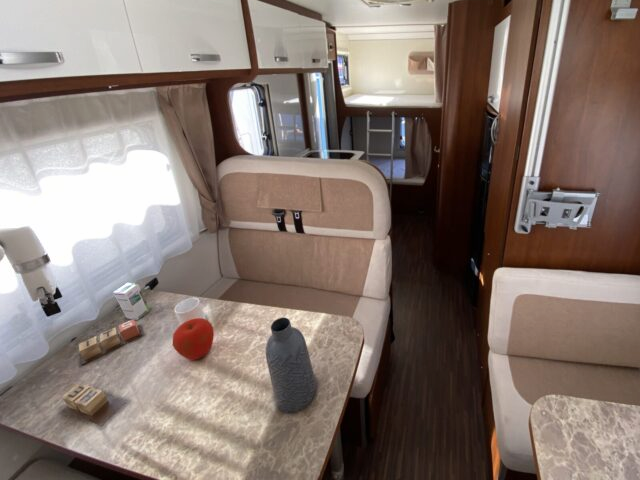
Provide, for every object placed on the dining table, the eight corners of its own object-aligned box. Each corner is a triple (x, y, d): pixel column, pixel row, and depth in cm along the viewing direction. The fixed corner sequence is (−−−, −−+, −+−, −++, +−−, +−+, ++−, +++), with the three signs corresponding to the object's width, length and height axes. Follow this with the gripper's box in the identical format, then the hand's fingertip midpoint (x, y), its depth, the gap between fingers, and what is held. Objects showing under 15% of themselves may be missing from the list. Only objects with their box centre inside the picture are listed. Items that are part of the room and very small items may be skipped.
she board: (129, 404, 92) (121, 391, 89) (104, 428, 85) (95, 416, 83) (90, 390, 96) (82, 378, 94) (63, 413, 90) (54, 400, 88)
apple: (172, 362, 104) (158, 332, 99) (202, 335, 114) (191, 307, 109) (198, 373, 100) (185, 343, 94) (226, 344, 110) (217, 315, 105)
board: (83, 366, 104) (76, 354, 102) (83, 354, 109) (76, 342, 107) (143, 337, 115) (137, 325, 113) (140, 327, 120) (135, 315, 117)
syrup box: (138, 321, 123) (125, 293, 117) (126, 319, 124) (112, 291, 118) (150, 310, 128) (138, 283, 122) (139, 309, 129) (126, 282, 123)
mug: (176, 321, 121) (168, 301, 117) (198, 309, 127) (191, 290, 123) (186, 337, 114) (178, 316, 110) (209, 324, 120) (202, 303, 116)
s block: (137, 327, 118) (133, 318, 116) (139, 333, 115) (135, 324, 113) (123, 334, 115) (118, 325, 113) (124, 340, 112) (120, 331, 110)
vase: (324, 381, 96) (311, 313, 85) (302, 420, 85) (285, 349, 74) (292, 370, 100) (276, 304, 89) (267, 406, 89) (246, 336, 78)
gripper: (17, 256, 96) (41, 299, 102) (8, 280, 84) (36, 327, 90) (50, 247, 101) (71, 288, 107) (46, 268, 89) (70, 314, 95)
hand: (55, 306), depth 99 cm, fingers open, 9 cm apart
